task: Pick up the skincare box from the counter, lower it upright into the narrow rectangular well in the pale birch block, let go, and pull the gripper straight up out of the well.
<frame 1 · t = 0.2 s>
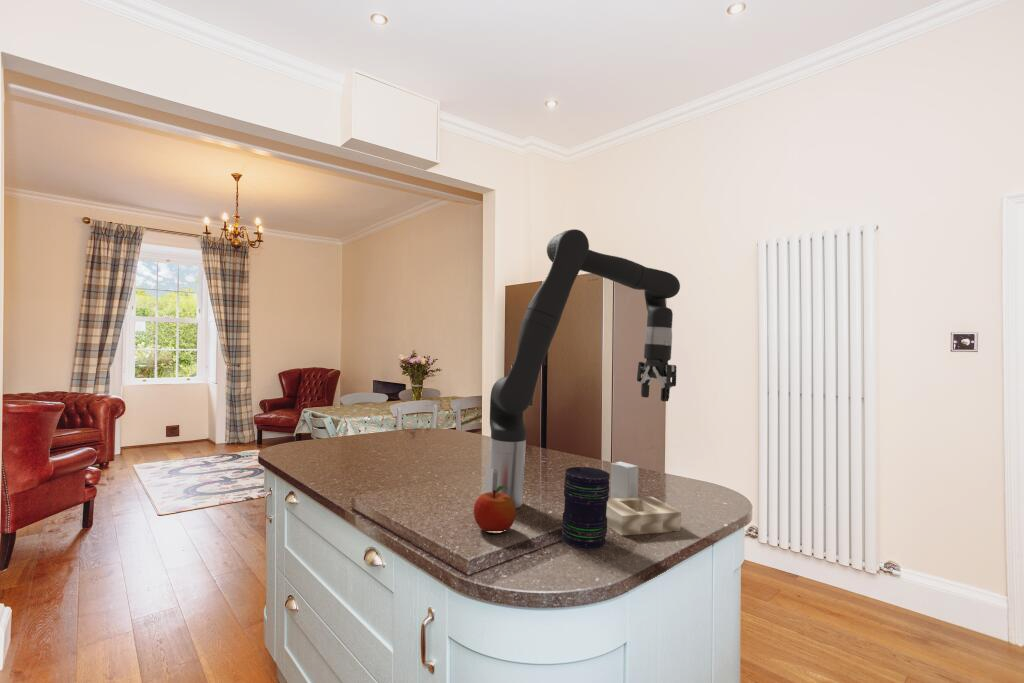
hand: (654, 399, 146), 28 cm above the countertop, tool pointing down, fingers open, 8 cm apart
fruit: (493, 531, 114), on the countertop
storage jar: (583, 541, 111), on the countertop
well block: (637, 523, 123), on the countertop
skincare box: (622, 510, 133), on the countertop
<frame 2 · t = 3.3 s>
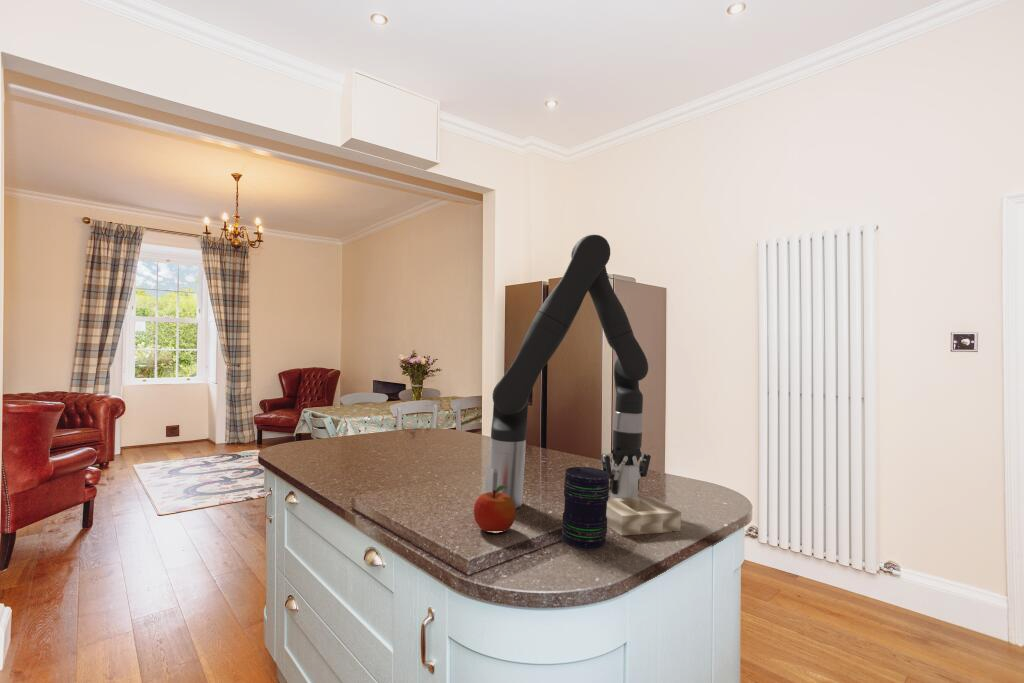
hand: (624, 492, 133), 4 cm above the countertop, tool pointing down, fingers closed on skincare box, 5 cm apart
skincare box: (622, 510, 133), on the countertop, touching gripper
everything else where it was.
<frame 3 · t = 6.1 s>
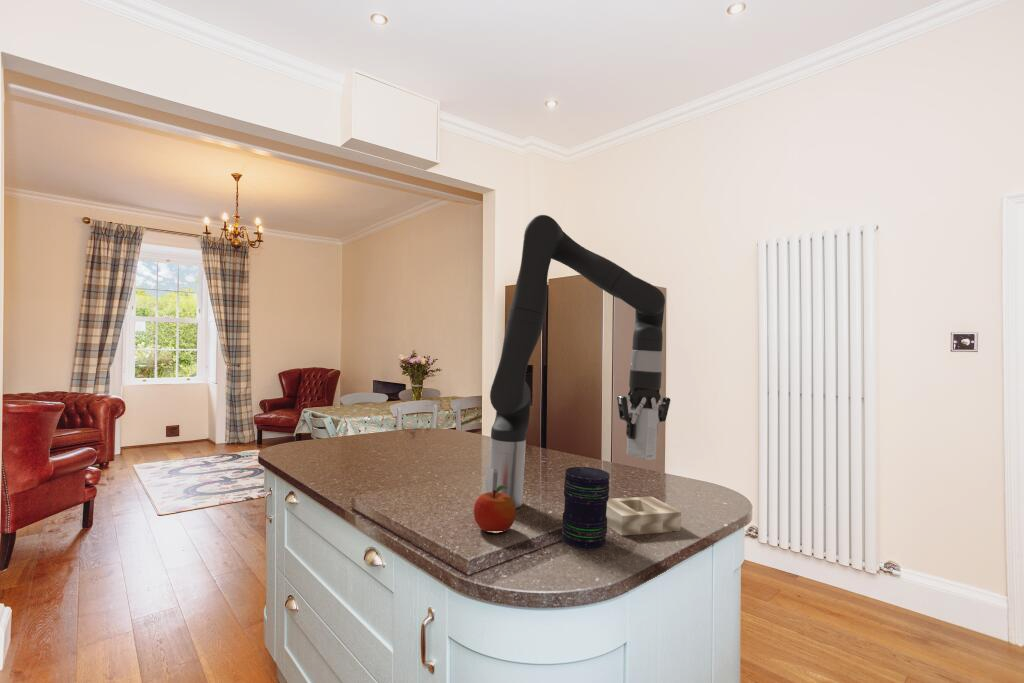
hand: (641, 438, 123), 21 cm above the countertop, tool pointing down, fingers closed on skincare box, 5 cm apart
skincare box: (640, 458, 123), point 16 cm above the countertop, touching gripper
everything else where it was.
when the fingers open (6 cm above the countertop, at t = 9.2 s): skincare box drops 1 cm, resting in well block.
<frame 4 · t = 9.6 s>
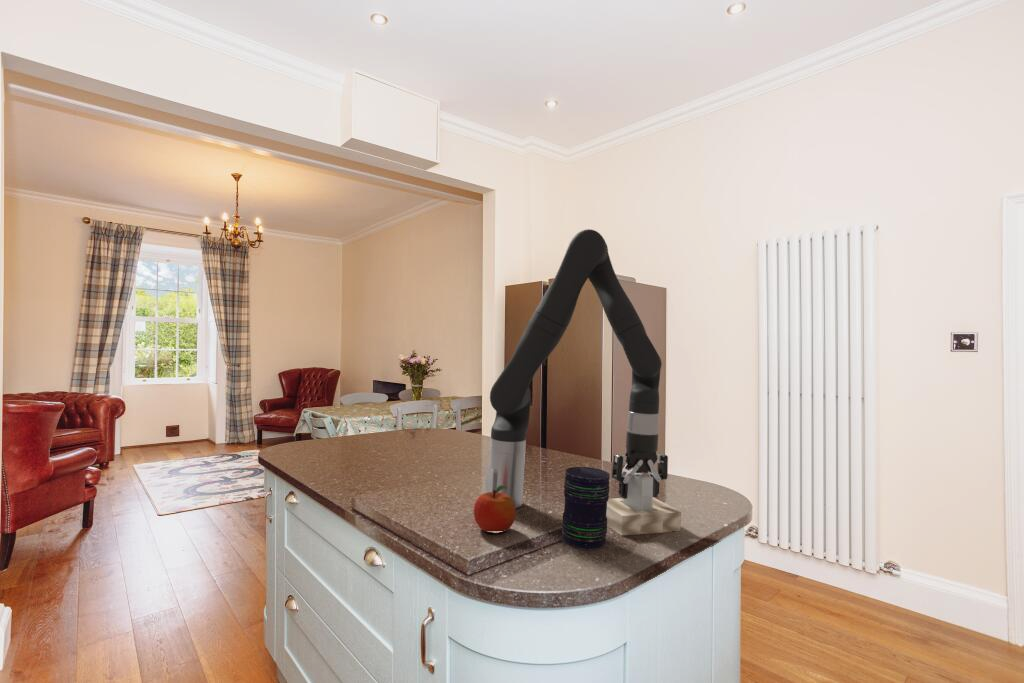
hand: (638, 497, 123), 7 cm above the countertop, tool pointing down, fingers open, 8 cm apart
skincare box: (636, 525, 123), resting in well block
everything else where it was.
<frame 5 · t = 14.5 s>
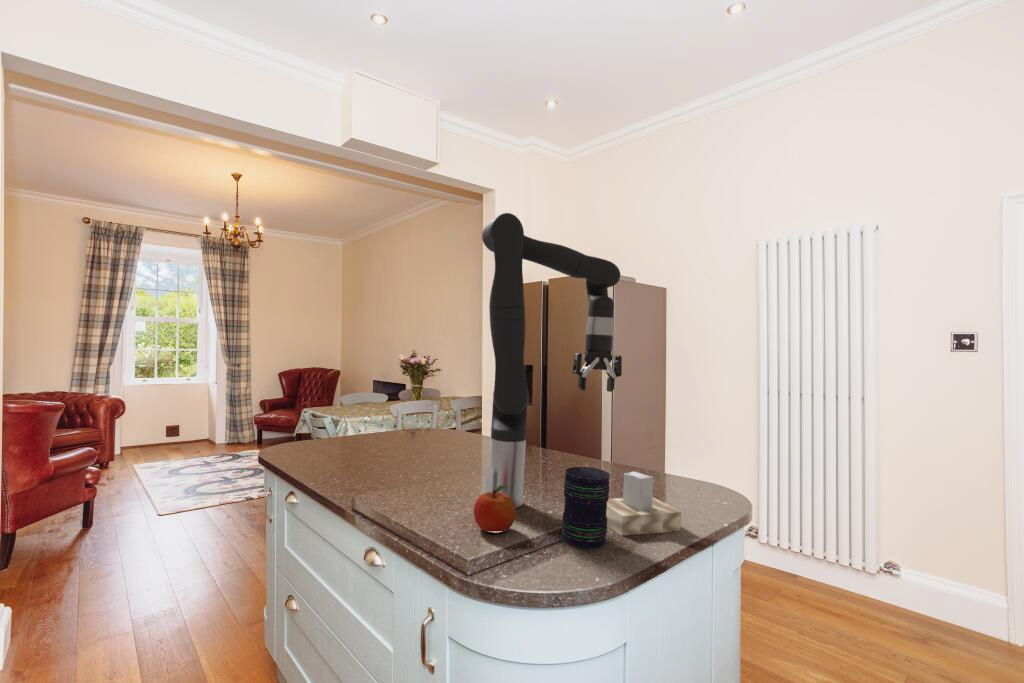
hand: (596, 391, 142), 30 cm above the countertop, tool pointing down, fingers open, 8 cm apart
nothing on the countertop moved.
at the end: skincare box 0.3 cm off-centre on the well block, point 0.0 cm above the well block's base; skincare box tilted 0°; the gripper is holding nothing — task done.
